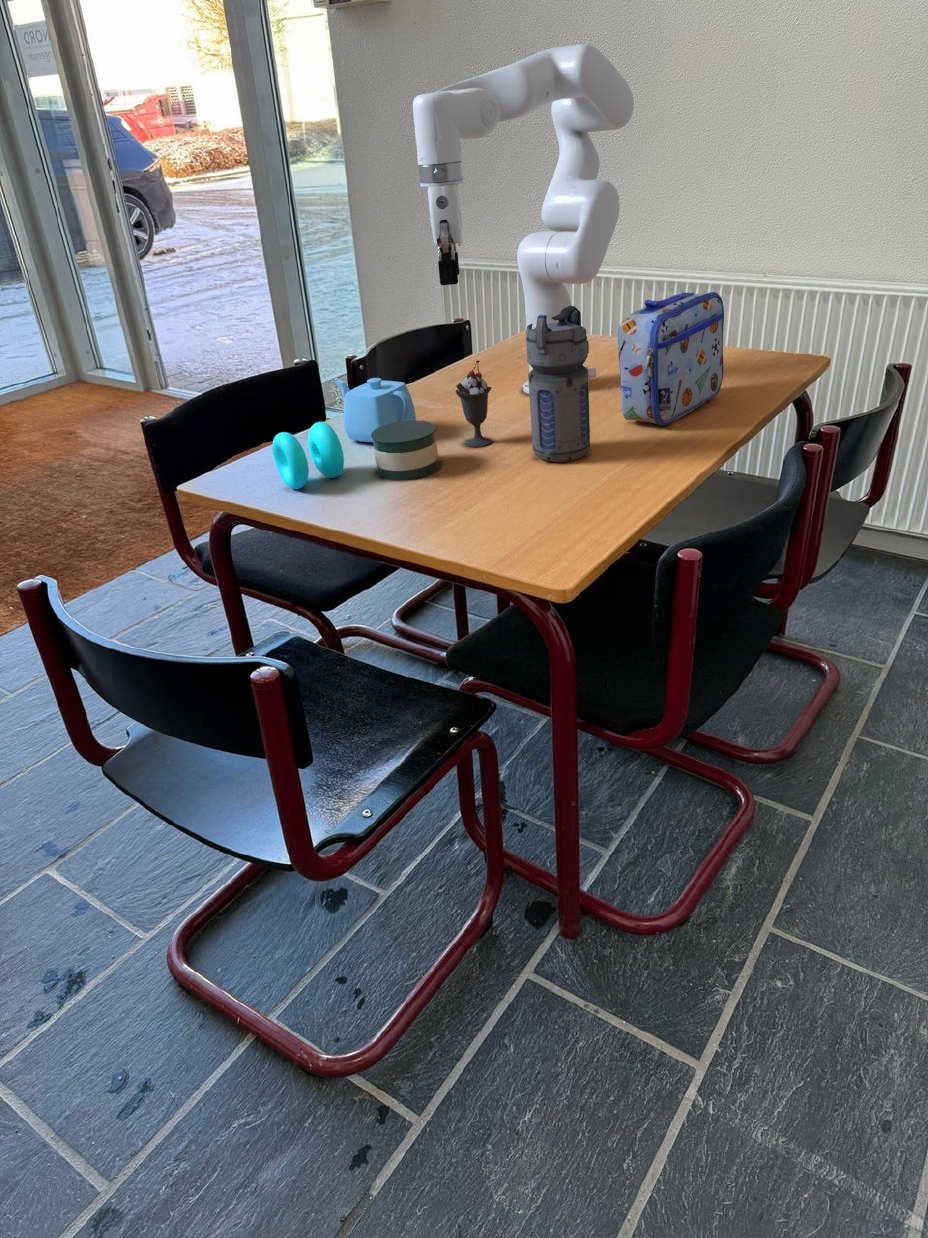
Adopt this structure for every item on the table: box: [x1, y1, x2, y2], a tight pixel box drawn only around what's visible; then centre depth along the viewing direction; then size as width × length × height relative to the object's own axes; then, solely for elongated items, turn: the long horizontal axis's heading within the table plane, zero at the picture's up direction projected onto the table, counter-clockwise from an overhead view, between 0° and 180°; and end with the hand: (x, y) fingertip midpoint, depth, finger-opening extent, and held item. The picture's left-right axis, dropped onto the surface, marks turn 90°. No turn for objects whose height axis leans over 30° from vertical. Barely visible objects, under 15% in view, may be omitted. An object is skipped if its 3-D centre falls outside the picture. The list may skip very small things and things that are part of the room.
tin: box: [371, 419, 440, 481], centre depth 161 cm, size 11×11×7 cm
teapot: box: [333, 377, 417, 443], centre depth 178 cm, size 12×18×12 cm
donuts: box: [272, 421, 345, 490], centre depth 159 cm, size 10×10×10 cm
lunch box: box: [617, 291, 725, 427], centre depth 170 cm, size 28×10×22 cm, turn 140°
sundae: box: [455, 360, 493, 448], centre depth 167 cm, size 7×7×15 cm
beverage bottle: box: [525, 305, 591, 463], centre depth 156 cm, size 10×13×25 cm
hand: (450, 279), depth 164 cm, fingers open, 9 cm apart
